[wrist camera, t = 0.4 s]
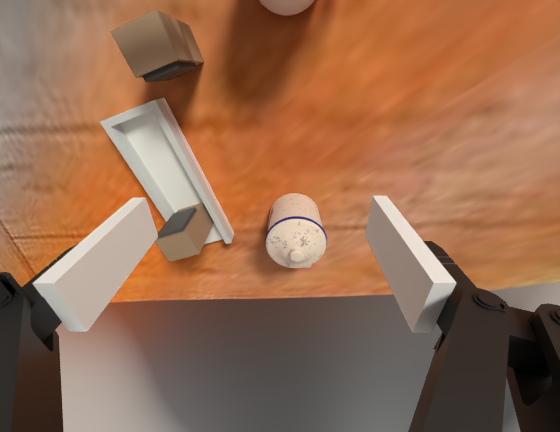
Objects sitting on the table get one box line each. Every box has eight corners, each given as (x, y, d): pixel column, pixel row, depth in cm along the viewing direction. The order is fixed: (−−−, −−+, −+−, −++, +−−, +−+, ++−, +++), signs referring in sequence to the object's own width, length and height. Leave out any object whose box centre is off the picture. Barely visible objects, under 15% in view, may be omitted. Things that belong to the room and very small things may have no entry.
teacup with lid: (260, 200, 42) (253, 240, 32) (311, 183, 40) (320, 221, 30) (283, 252, 48) (283, 300, 38) (329, 239, 46) (341, 286, 36)
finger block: (153, 41, 31) (110, 31, 23) (188, 25, 30) (155, 9, 22) (172, 80, 33) (139, 83, 25) (206, 67, 32) (181, 66, 24)
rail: (112, 118, 36) (58, 133, 27) (164, 97, 34) (123, 106, 25) (193, 244, 47) (173, 283, 38) (234, 233, 46) (222, 270, 37)
